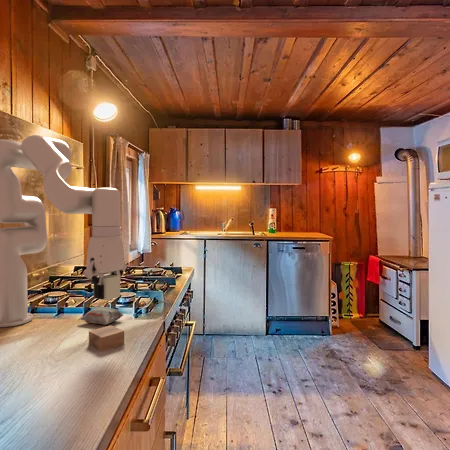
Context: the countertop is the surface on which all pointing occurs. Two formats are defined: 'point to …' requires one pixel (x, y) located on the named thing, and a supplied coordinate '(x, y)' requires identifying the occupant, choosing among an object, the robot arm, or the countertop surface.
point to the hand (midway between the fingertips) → (106, 295)
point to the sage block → (111, 286)
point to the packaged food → (101, 315)
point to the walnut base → (106, 337)
